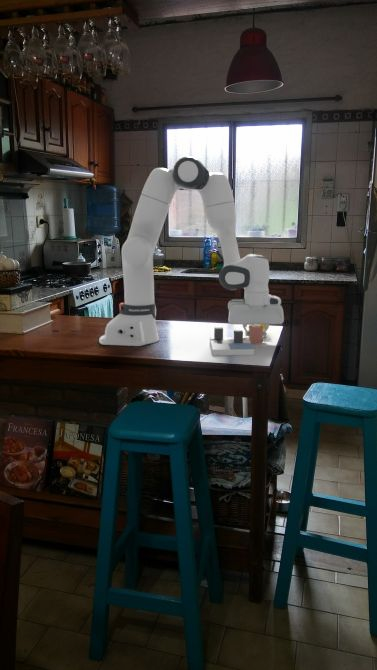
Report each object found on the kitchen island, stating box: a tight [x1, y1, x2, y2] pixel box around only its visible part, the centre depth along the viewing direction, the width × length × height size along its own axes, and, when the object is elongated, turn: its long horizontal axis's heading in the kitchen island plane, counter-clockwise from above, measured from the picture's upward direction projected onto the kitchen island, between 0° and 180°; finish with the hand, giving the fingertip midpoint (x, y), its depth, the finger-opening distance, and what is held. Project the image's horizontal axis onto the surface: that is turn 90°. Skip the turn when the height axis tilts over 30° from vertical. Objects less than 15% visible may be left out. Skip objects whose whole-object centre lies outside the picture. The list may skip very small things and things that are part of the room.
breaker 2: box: [233, 330, 244, 343], centre depth 190 cm, size 3×2×4 cm
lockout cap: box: [248, 324, 263, 344], centre depth 200 cm, size 4×4×6 cm
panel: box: [209, 337, 255, 356], centre depth 190 cm, size 14×17×2 cm
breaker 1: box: [213, 326, 224, 340], centre depth 195 cm, size 3×2×4 cm
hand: (255, 335), depth 200 cm, fingers closed on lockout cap, 4 cm apart
